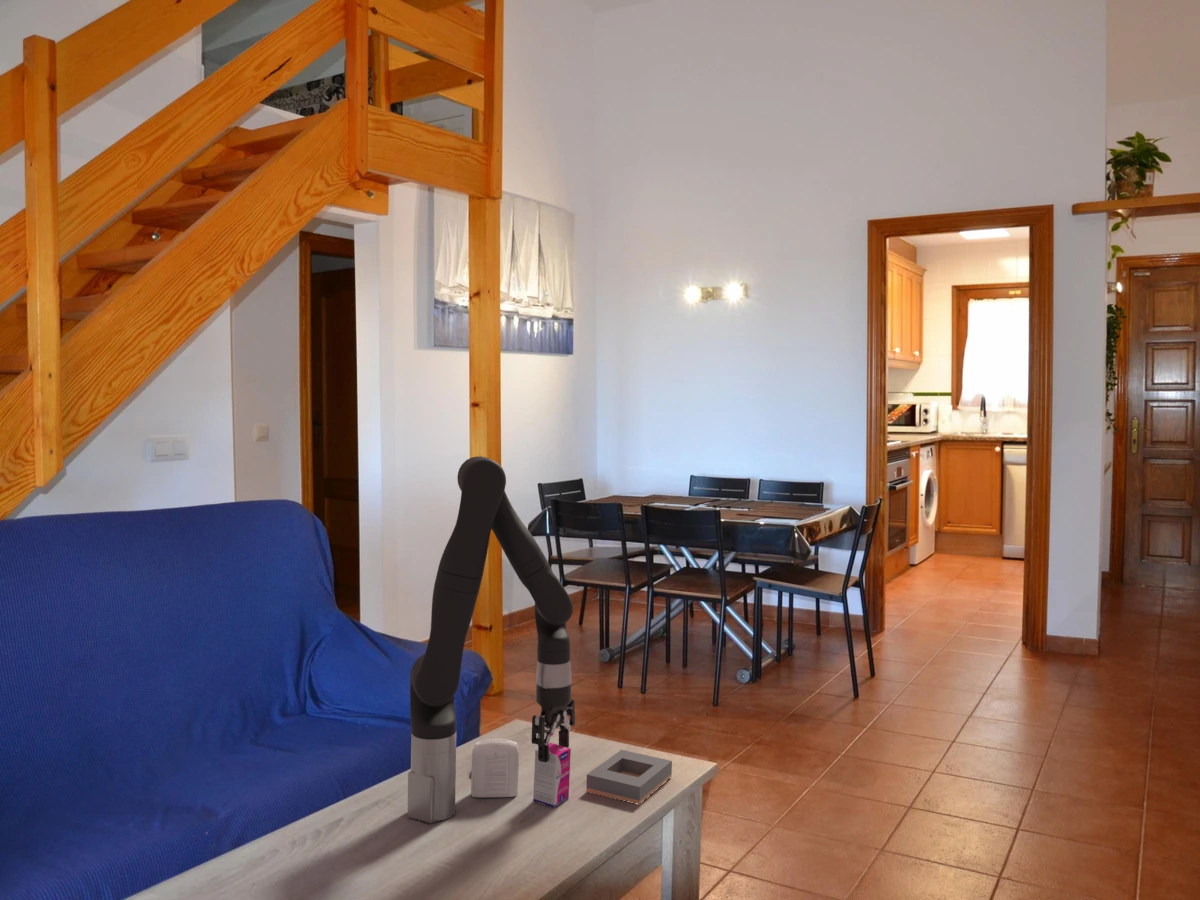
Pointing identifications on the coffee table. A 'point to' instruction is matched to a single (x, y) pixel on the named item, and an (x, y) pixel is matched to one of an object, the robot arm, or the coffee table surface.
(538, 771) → the supplement box
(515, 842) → the coffee table surface
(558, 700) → the robot arm
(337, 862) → the coffee table surface
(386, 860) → the coffee table surface
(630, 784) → the plate
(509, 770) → the photo printer
